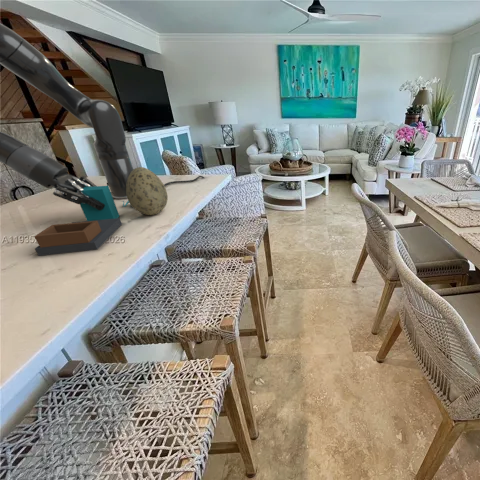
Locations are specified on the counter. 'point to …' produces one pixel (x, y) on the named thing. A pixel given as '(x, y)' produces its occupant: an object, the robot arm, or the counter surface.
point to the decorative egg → (146, 191)
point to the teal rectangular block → (104, 197)
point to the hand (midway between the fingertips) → (106, 205)
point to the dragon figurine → (126, 203)
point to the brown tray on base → (75, 236)
